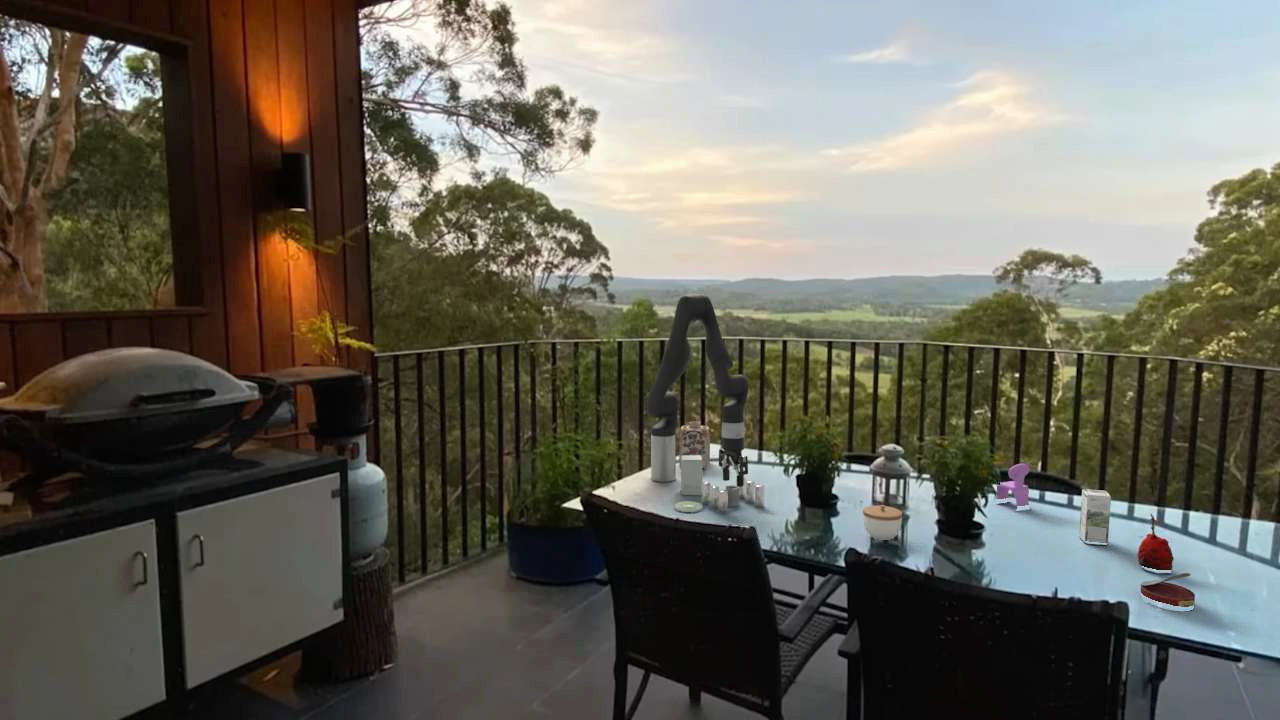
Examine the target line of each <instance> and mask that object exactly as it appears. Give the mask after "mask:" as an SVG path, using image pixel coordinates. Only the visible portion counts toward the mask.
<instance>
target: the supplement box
mask: <svg viewBox="0 0 1280 720" xmlns="http://www.w3.org/2000/svg"><path fill="white" fill-rule="evenodd" d="M702 482H703V469H702V457H701V455H684V456H681V468H680V492H681V495H682V496H701V483H702Z"/></svg>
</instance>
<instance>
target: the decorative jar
mask: <svg viewBox="0 0 1280 720" xmlns="http://www.w3.org/2000/svg"><path fill="white" fill-rule="evenodd" d="M678 437H679V451H678V452H679V468H680V469H681V456H684V455H701V457H702V468H704V469H703V470H707V468H708V469H709V466H710V459H711V456H710V455H711V439H710V438H711V429H710V427H709V426H707V425H703V424H702V425H701V421H689V422H688V424H685V425H682V426H681V427H680V432H679V435H678Z"/></svg>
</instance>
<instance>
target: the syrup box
mask: <svg viewBox="0 0 1280 720" xmlns="http://www.w3.org/2000/svg"><path fill="white" fill-rule="evenodd" d="M1111 502H1112V497H1111V495H1110V494H1109V493H1108V492H1107V491H1106V490H1098V489H1087V488H1086V489H1085V488H1082V491H1081V503H1080V504H1081V505H1080V521H1079V534H1080V536H1081V537H1082V538H1083V539H1084V541H1089V542H1099V543H1108V544H1109V533H1110V532H1109V531H1110V518H1111V505H1112V504H1111ZM1079 534H1078V535H1079Z"/></svg>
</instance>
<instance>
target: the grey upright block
mask: <svg viewBox="0 0 1280 720" xmlns="http://www.w3.org/2000/svg"><path fill="white" fill-rule="evenodd" d="M725 490H727V491H728V508H729V507H730V508H738V507H740V499H739V487H738V486H737V485H733V484H732V485H726V486H725Z"/></svg>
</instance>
